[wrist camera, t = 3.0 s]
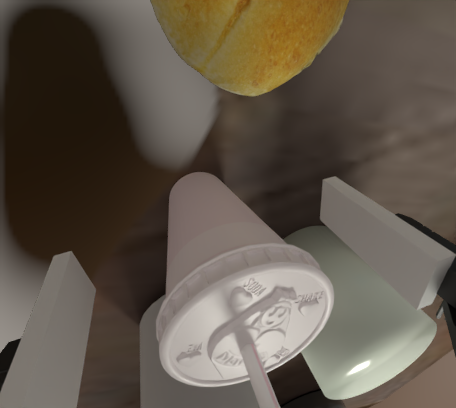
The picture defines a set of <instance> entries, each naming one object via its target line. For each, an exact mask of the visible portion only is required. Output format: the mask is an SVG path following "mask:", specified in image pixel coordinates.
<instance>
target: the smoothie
mask: <svg viewBox="0 0 456 408" xmlns="http://www.w3.org/2000/svg"><path fill="white" fill-rule="evenodd" d="M333 303H334V289H333V286H332V284H331V281H330V280H329V278H328V277H327V276H326V275H325V274H324V273H323V271H322V270H321V269H320V266H319V264H318V262H317V261H316V260H315V259H314V258H313V257H312V256H311V254H310V253H308V252H306V251H304V250H302V249H300V248H298V247H296V246H294V245H289V244H287V243H286V242H285V241H284V240H283V239H281V238H280V237H279V236H278V235H277V234H276V233H275V232H274V231H273V230H272V229H271V228H270V227H269V226H268V225H267V224H265V223H264V222H263V221H262V220H261V219H260V218H259V217H258V216H257V215H256V214H255V213H254V212H253V211H252V210H251V209H250V208H249V207H248V206H247V205H246V204H245V203H244V202H242V201H241V200H240V199H239V198H238V197H237V196H236V195H235V194H234V193H233V192H232V191H231V190H230V189H229V188H228V187H227V186H226V185H225V184H224V183H223V182H222V181H221V180H219V179H218V178H217V177H216V176H214V175H212V174H210V173H206V172H195V173H191V174H188V175H186V176H184V177H182V178H181V179H179V180H178V181H177V182H176V183H175V185H174V186H173V188H172V190H171V192H170V196H169V218H168V248H167V277H166V298H165V300H164V301H163V303H162V305H161V308H160V311H159V314H158V316H157V319H156V338H157V340H158V342H159V355H160V361H161V364H162V366H163V368H164V369H165V371H166V372H167V373H168V374H169V375H170V376H171V377H173V378H174V379H176V380H178V381H180V382H183V383H185V384H188V385H193V386H198V387H219V386H228V385H232V384H237V383H241V382H244V381H247V380H250V381H251V384H252V387H253V390H254V393H255V396H256V399H257V402H258V404H259V407H260V408H280V406H279V403H278V401H277V398H276V396H275V393H274V391H273V388H272V386H271V383H270V381H269V378H268V376H267V373H268V372H270V371H272V370H274V369H275V368H277V367H279V366H281V365H283V364H284V363H286V362H287V361H289V360H290V359H292V358H293V357H295V356H296V355H297V354H298V353H300V352H301V351H302V350H303V349H305V348H306V347H307V346H308V345H309V344H310V343H311V342H312V341H313V340H314V339H315V338H316V336H317V335H318V334H319V333H320V331H321V330H322V329H323V327H324V326H325V324H326V322H327V320H328V319H329V317H330V314H331V311H332V308H333Z"/></svg>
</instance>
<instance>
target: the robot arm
mask: <svg viewBox="0 0 456 408" xmlns="http://www.w3.org/2000/svg"><path fill="white" fill-rule="evenodd" d="M320 220H321V221H322V222H323V223H324V224H325V225H326V226H327V227H328V228H329V229H331V230H332V231H333V232H334V233H335V234H336V235H337V236H338V237H339V238H340V239H341V240H342V241H343V242H344V243H345V244H347V245H348V246H349V247H350V248H351V249H352V250H353V251H354V252H355V253H356V254H357V255H358V256H359V257H360V258H361V259H363V260H364V261H365V262H366V263H367V264H368V265H369V266H370V267H371V268H372V269H373V270H374V271H375V272H376V273H377V274H379V275H380V276H381V277H382V278H383V279H384V280H385V281H386V282H387V283H388V284H389V285H390V286H391V287H392V288H393V289H395V290H396V291H397V292H398V293H399V294H400V295H401V296H402V297H403V298H404V299H405V300H406V301H407V302H408V303H409V304H411V305H412V306H413V307H414V308H415V309H416V310H418V309H420V308H423V307H425V306H428V305H430V304H432V303H433V301H434V299H435V297H436V295H437V294H438V295H439V296H440V297H442V298H443V299H444V300H443V302H442V304H441V306H440V308H439V309H438V311H437V314H436V318H439V319H440V317H441V315H442V313H443V312H444V315H445V320H446V322H447V326H448V330H449V334H450V337H451V341H452V345H453V349H454V352H455V356H456V245H454V244H453V243H451V242H450V241H448V240H446V239H445V238H443V237H442V236H440V235H438V234H437V233H435V232H432V230H430V229H429V228H427V227H425V226H423V225H422V224H421V223H419V222H417V221H416V220H414V219H412V218H410V217H407V216H405V215H402V214H399V213H398V214H395V215H394V214H393V213H391V212H390V211H388V210H386V209H385V208H383V207H382V206H380V205H379V204H377V203H376V202H374V201H373V200H371V199H370V198H368V197H366V196H365V195H363V194H362V193H360V192H359V191H357V190H356V189H354V188H353V187H351V186H349V185H348V184H346V183H345V182H343V181H342V180H340V179H339V178H337V177H336V176H334V177H330V178H327V179H323V185H322V197H321V210H320ZM95 293H96V289H95V287H94V285H93V284H92V282H91V281H90V279H89V278H88V276H87V274H86V273H85V271H84V270H83V268H82V267H81V265H80V263H79V262H78V260H77V259H76V257H75V256H74V254H73V253H72V251H69V252H66V253H62V254H59V255H56V256H54V257H53V259H52V262H51V264H50V267H49V269H48V272H47V274H46V277H45V280H44V282H43V285H42V287H41V290H40V292H39V295H38V297H37V300H36V302H35V305H34V308H33V310H32V313H31V315H30V318H29V321H28V323H27V325H26V328H25V331H24V333H23V336H22V338H21V339H17V340H15V341H11V342H9V343H8V344H7V345H6V347H5V348H4V349H3V350H2V352H1V353H0V408H77V403H78V397H79V390H80V384H81V378H82V372H83V366H84V360H85V354H86V348H87V342H88V336H89V329H90V323H91V317H92V311H93V305H94V299H95ZM281 408H346V407H345V405H344V403H343V401H342V400H341V399H340V400H333V399H329V398H327V397H325V395H324V394H323V392H322V390H321V391H317V392H313V393H310V394H307V395H304V396H302V397H300V398H297V399H295V400H293V401H291V402H289V403H288V404H286V405H284V406H283V407H281Z"/></svg>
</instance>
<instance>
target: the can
mask: <svg viewBox="0 0 456 408" xmlns="http://www.w3.org/2000/svg"><path fill="white" fill-rule="evenodd" d="M165 298H166V294H165V295H163V296H162V297H161V298H159V299H158V300H157V301H156V302H154V303H153V304H152V305H151V306H150V307H149V308H148V309H147V311H146V312H145V313H144V314H143V317H142V319H141V322H140V395H141V408H260V407H259V404H258V402H257V399H256V396H255V393H254V390H253V387H252V384H251V381H250V380H247V381H244V382H241V383H237V384H232V385H228V386H219V387H198V386H193V385H188V384H185V383H183V382H180V381H178V380H176V379H174V378H173V377H171V376H170V375H169V374H168V373H167V372H166V371H165V369H164V368H163V366H162V364H161V361H160V355H159V342H158V340H157V338H156V319H157V316H158V314H159V311H160V308H161V305H162V303H163V301H164V300H165Z"/></svg>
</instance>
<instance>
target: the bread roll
mask: <svg viewBox="0 0 456 408" xmlns="http://www.w3.org/2000/svg"><path fill="white" fill-rule="evenodd" d="M150 1H151V3H152V6H153V9H154V12H155V15H156V17H157V20H158V22H159V23H160V25H161V27H162V29H163V31H164V33H165V35H166V37H167V39H168V41H169V42H170V43H171V45H172V47H173V48H174V50H175V51H176V53H177V54H178V55H179V56H180V57H181V58H182V59H183V60H184V61H185V62H186V63H187V64H188V65H189V66H191V67H192V68H194V69H195V70H197V71H198V72H199V73H200V74H201V75H202V76H204V77H205V78H206V79H208V80H209V81H210V82H211V83H213V84H215V85H216V86H218V87H220V88H221V89H224V90H226V91H229V92H232V93H235V94H239V95H246V96H258V95H261V94H263V93H266V92H269V91H271V90H272V89H274V88H277V87H278V86H280V85H281V84H283V83H285V82H287V81H288V80H289V79H291V78H292V77H293V76H296V75H297V74H299V73H300V72H301V71H302V70H303V69H305V68H306V67H308V66H310V65H311V63H312V62H313V60H314V58H315V57H316V55H318V54H320V52H321V51H322V50H323V48H324V47H325V46H326V45H327V44H328V42H329V41H330V40H331V39H332V38H333V37H334V35H335V34H336V33H337V32H338V30H339V28H340V26H341V24H342V21H343V15H344V13H345V11H346V8H347V5H348V2H349V0H150Z"/></svg>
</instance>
